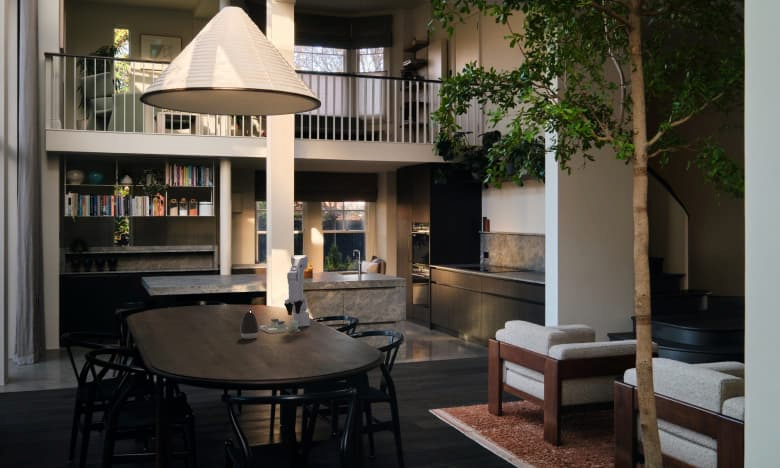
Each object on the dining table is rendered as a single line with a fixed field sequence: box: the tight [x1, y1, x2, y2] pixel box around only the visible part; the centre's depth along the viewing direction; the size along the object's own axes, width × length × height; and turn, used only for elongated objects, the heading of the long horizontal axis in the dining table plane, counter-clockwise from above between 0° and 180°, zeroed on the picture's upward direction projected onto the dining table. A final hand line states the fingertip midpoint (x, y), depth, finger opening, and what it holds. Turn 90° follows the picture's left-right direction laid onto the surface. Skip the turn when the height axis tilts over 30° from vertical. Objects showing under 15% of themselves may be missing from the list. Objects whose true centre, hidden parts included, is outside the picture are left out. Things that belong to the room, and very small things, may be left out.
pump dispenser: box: [239, 311, 260, 340], centre depth 395 cm, size 10×10×15 cm
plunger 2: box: [277, 320, 286, 325], centre depth 419 cm, size 4×4×3 cm
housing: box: [259, 320, 290, 334], centre depth 422 cm, size 12×19×4 cm, turn 28°
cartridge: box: [290, 319, 299, 331], centre depth 418 cm, size 4×4×6 cm
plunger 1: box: [270, 317, 280, 322], centre depth 429 cm, size 4×4×3 cm
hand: (293, 314), depth 419 cm, fingers open, 7 cm apart
